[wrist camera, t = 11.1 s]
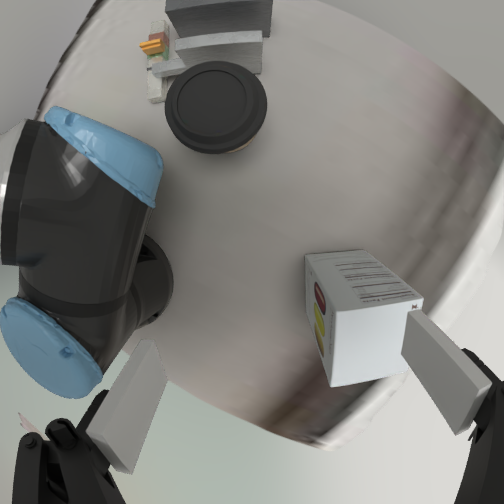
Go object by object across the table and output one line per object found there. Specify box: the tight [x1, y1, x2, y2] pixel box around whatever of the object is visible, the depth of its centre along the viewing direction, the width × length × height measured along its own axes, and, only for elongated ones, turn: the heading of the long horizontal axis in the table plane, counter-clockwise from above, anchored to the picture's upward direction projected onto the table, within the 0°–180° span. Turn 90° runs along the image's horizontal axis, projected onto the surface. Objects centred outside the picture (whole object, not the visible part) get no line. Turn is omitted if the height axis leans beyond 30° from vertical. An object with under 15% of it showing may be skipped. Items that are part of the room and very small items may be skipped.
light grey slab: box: [152, 30, 263, 78], centre depth 27 cm, size 14×2×10 cm, turn 93°
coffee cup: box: [165, 61, 267, 154], centre depth 27 cm, size 9×9×15 cm
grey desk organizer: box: [147, 0, 273, 103], centre depth 27 cm, size 17×13×10 cm
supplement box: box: [305, 250, 424, 387], centre depth 32 cm, size 10×9×17 cm
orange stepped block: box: [139, 39, 165, 55], centre depth 27 cm, size 3×1×3 cm, turn 93°
